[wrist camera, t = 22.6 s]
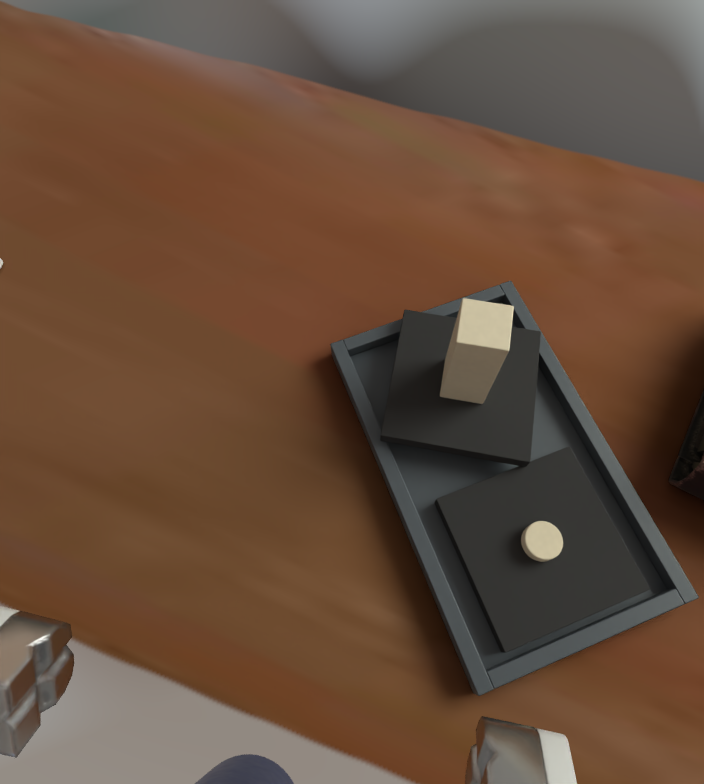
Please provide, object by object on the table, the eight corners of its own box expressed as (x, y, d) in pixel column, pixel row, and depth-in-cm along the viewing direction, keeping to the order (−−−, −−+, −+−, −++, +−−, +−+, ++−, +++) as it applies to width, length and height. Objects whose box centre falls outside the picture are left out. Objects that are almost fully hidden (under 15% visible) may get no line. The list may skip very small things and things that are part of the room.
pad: (501, 652, 36) (509, 653, 34) (433, 502, 39) (437, 495, 37) (642, 590, 37) (658, 587, 35) (564, 450, 41) (574, 441, 39)
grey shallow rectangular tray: (473, 693, 35) (478, 696, 34) (331, 354, 45) (330, 343, 43) (685, 599, 37) (699, 597, 36) (506, 292, 47) (510, 280, 45)
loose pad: (525, 467, 39) (570, 419, 31) (380, 440, 40) (383, 387, 32) (536, 338, 43) (578, 265, 34) (403, 317, 44) (412, 240, 35)
